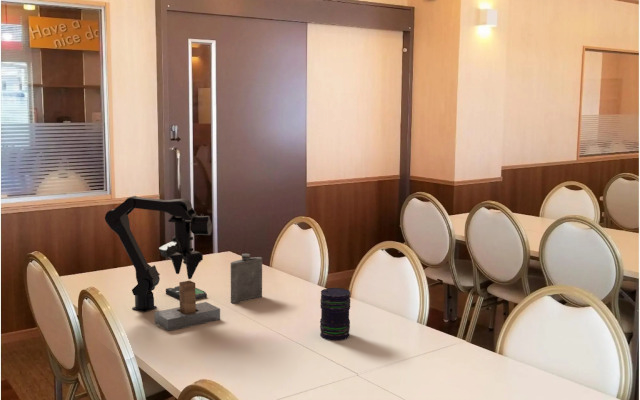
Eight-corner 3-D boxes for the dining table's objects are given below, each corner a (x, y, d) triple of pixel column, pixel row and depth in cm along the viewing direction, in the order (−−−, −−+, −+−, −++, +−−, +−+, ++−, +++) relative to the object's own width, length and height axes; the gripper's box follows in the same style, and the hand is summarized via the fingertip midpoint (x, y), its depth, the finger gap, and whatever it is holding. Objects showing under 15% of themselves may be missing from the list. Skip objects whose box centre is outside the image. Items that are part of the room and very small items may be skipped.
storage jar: (353, 332, 226) (354, 289, 224) (344, 342, 217) (345, 297, 215) (325, 329, 230) (326, 286, 227) (315, 338, 220) (316, 294, 218)
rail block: (154, 323, 233) (154, 312, 232) (206, 312, 245) (205, 301, 245) (168, 331, 225) (167, 319, 225) (220, 319, 238) (220, 308, 237)
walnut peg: (180, 321, 236) (179, 282, 234) (190, 318, 238) (189, 280, 236) (185, 324, 233) (184, 284, 231) (195, 321, 235) (195, 282, 233)
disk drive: (165, 295, 268) (184, 303, 257) (164, 288, 268) (184, 296, 257) (187, 290, 275) (207, 298, 264) (187, 284, 275) (207, 291, 264)
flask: (228, 302, 258) (227, 256, 256) (257, 295, 268) (257, 250, 265) (233, 304, 256) (233, 257, 253) (263, 297, 265) (263, 252, 263)
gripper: (150, 232, 245) (151, 274, 247) (174, 241, 230) (175, 285, 233) (178, 229, 252) (179, 270, 254) (203, 237, 237) (204, 280, 240)
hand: (183, 276), depth 245 cm, fingers open, 9 cm apart
